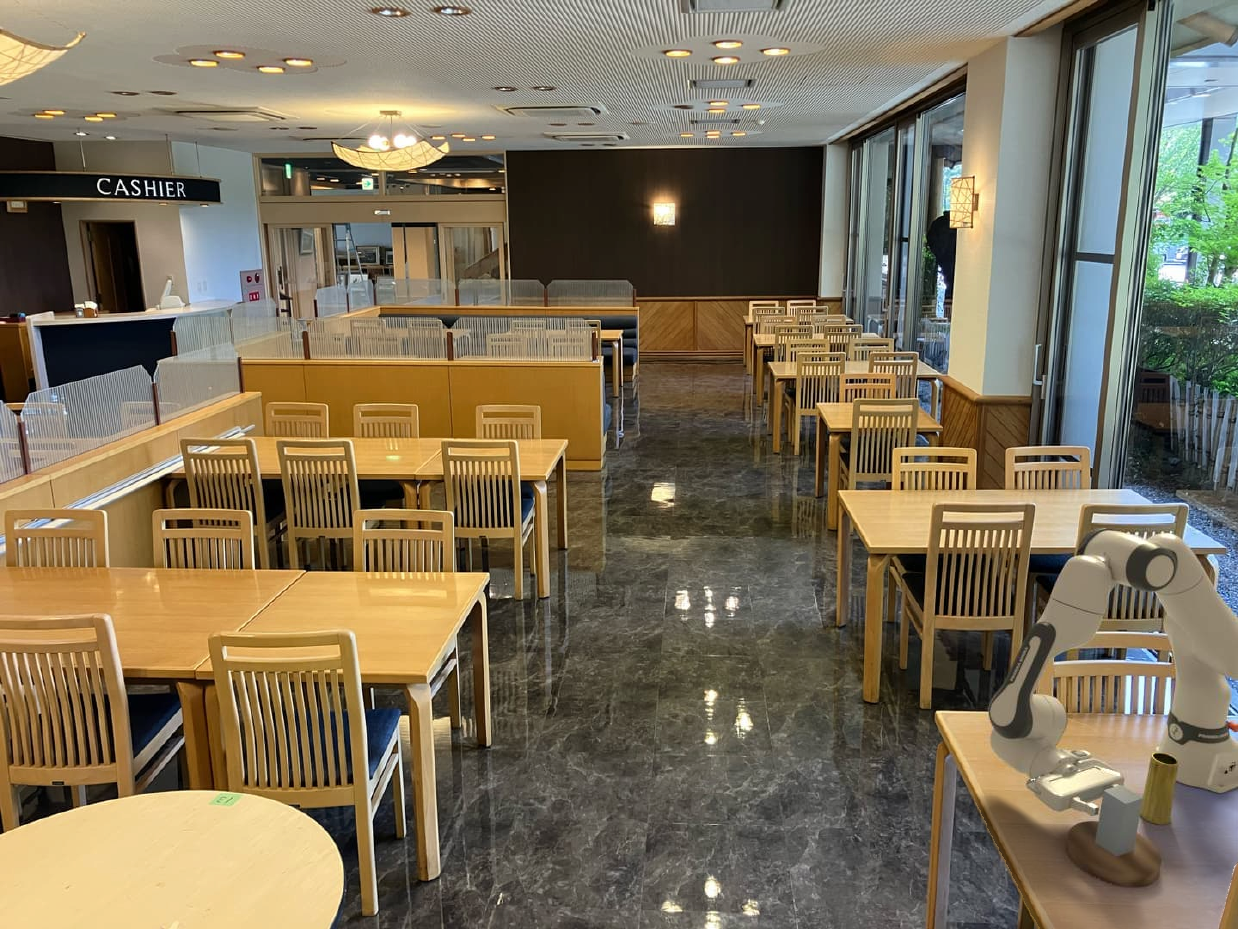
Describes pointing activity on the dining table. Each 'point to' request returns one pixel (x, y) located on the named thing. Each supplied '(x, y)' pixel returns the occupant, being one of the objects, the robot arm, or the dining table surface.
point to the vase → (1159, 788)
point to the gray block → (1118, 820)
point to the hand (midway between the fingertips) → (1112, 807)
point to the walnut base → (1113, 858)
